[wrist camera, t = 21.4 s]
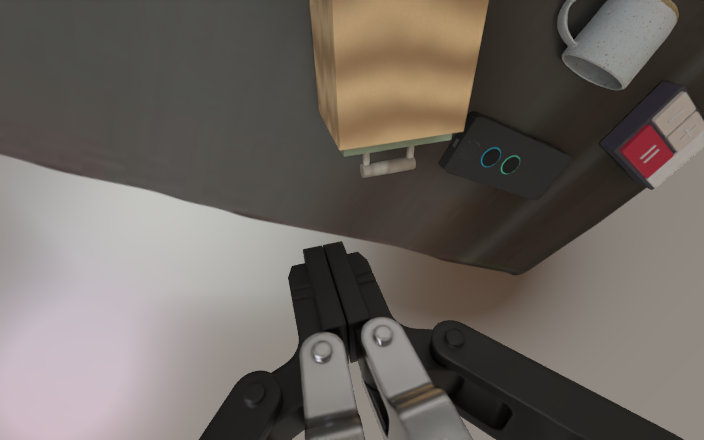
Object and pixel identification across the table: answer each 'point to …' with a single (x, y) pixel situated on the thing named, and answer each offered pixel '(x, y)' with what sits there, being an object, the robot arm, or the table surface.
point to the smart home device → (503, 158)
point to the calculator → (657, 135)
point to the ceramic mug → (617, 39)
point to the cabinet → (395, 67)
